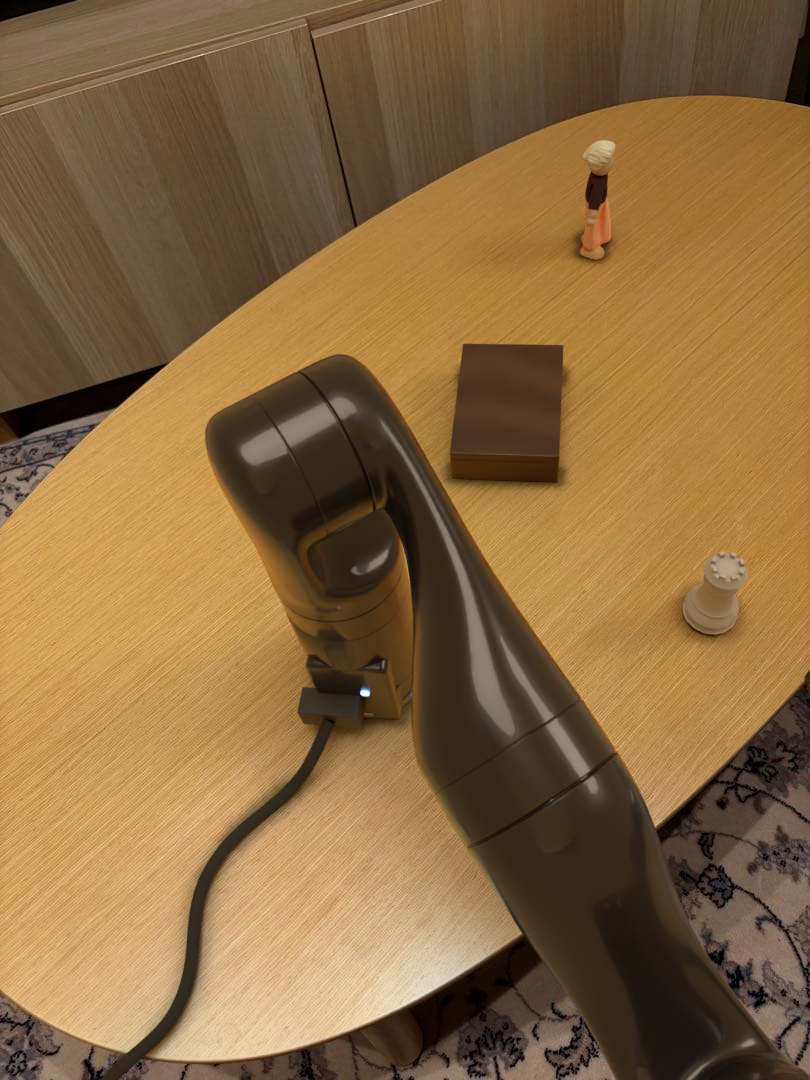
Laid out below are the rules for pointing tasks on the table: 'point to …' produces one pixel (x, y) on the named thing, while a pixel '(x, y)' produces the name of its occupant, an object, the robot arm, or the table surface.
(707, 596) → the rook chess piece
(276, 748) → the table surface
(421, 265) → the table surface
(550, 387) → the walnut box
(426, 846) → the table surface
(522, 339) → the table surface
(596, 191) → the grandmother figurine
